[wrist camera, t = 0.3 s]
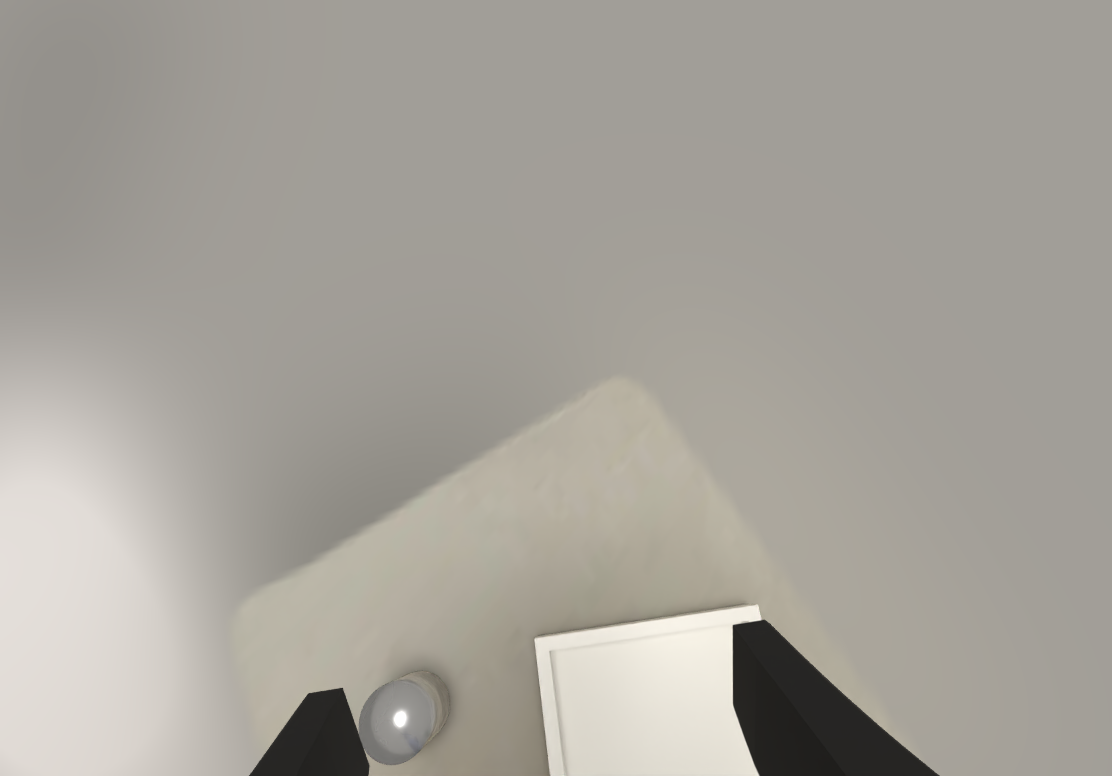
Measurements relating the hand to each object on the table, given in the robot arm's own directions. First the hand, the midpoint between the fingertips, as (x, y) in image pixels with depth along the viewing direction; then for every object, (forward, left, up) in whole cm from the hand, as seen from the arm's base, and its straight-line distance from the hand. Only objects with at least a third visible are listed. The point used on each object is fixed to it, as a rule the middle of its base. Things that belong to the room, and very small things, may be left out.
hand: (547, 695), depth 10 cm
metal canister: (-3, +10, -28) cm, 30 cm away
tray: (-7, -5, -28) cm, 30 cm away
